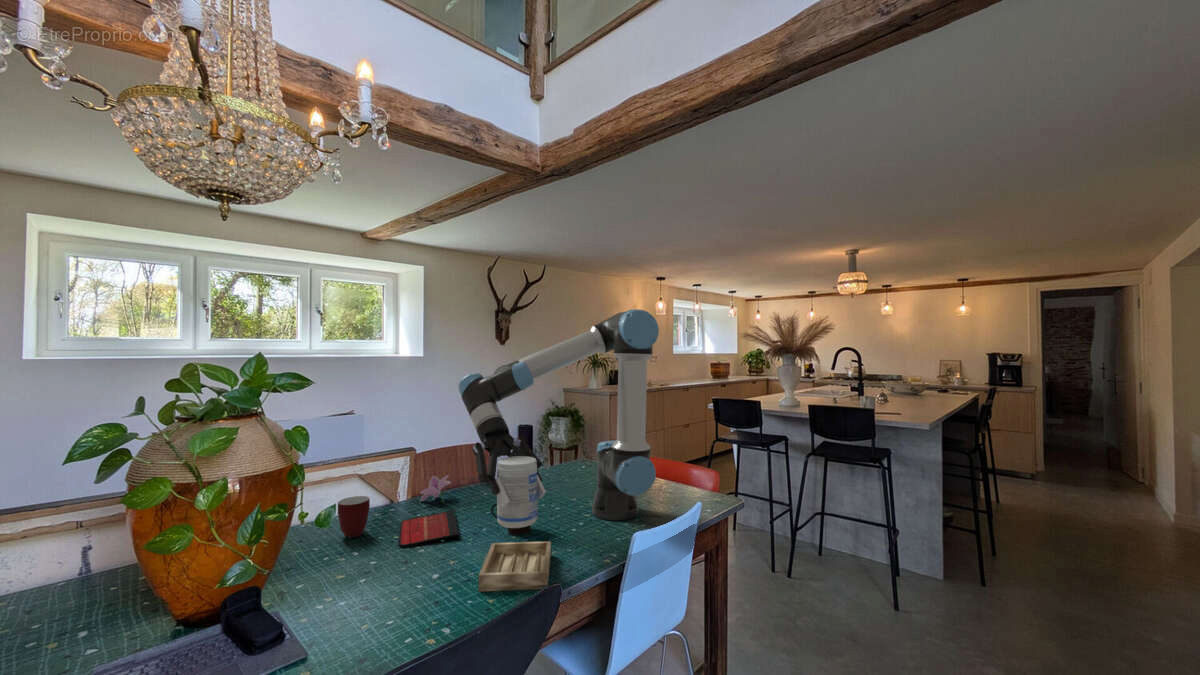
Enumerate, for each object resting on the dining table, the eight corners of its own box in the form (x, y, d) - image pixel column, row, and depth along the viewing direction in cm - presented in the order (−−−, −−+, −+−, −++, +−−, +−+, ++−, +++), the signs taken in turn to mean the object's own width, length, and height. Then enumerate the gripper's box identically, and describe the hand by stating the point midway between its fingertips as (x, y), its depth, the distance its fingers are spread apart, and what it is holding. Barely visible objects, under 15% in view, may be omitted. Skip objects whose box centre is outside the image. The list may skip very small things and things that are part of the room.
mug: (339, 530, 136) (339, 496, 137) (369, 525, 140) (369, 492, 140) (336, 543, 127) (336, 506, 127) (369, 538, 130) (369, 502, 131)
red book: (454, 509, 148) (460, 533, 129) (454, 516, 148) (460, 541, 129) (400, 518, 143) (397, 545, 123) (400, 525, 143) (397, 553, 123)
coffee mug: (537, 525, 139) (537, 492, 139) (529, 537, 130) (529, 501, 131) (499, 524, 140) (499, 491, 140) (489, 535, 131) (489, 500, 132)
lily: (456, 498, 169) (446, 473, 171) (461, 493, 159) (450, 468, 161) (423, 514, 163) (413, 489, 165) (426, 511, 153) (415, 484, 155)
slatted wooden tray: (550, 555, 119) (550, 541, 119) (547, 589, 102) (547, 572, 102) (492, 556, 118) (492, 543, 118) (478, 591, 101) (478, 575, 101)
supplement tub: (539, 527, 107) (539, 463, 107) (497, 531, 105) (497, 466, 105) (535, 513, 116) (535, 454, 117) (496, 516, 114) (496, 456, 114)
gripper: (520, 428, 130) (555, 498, 118) (444, 439, 114) (476, 520, 102) (531, 411, 126) (568, 481, 114) (454, 420, 111) (488, 502, 99)
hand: (524, 500), depth 108 cm, fingers closed on supplement tub, 9 cm apart
